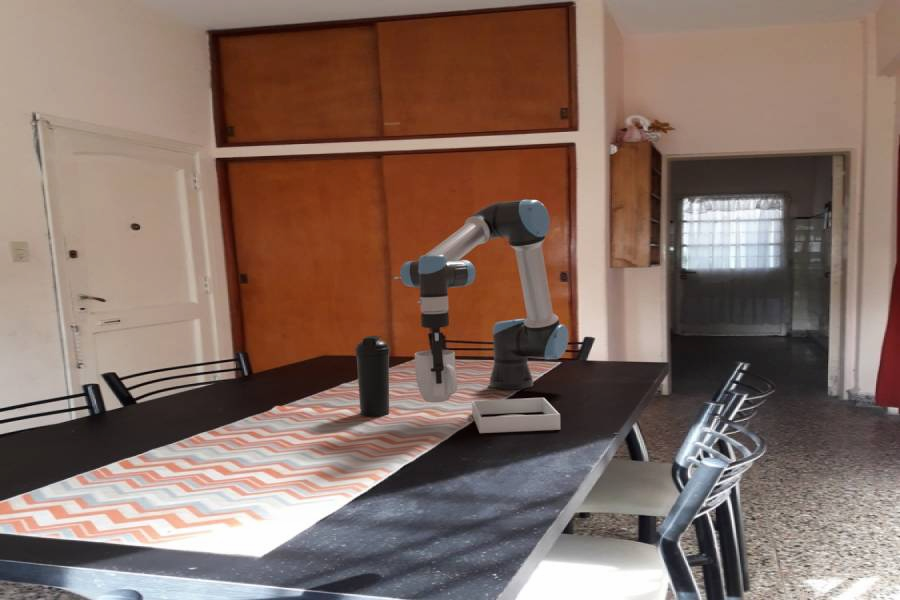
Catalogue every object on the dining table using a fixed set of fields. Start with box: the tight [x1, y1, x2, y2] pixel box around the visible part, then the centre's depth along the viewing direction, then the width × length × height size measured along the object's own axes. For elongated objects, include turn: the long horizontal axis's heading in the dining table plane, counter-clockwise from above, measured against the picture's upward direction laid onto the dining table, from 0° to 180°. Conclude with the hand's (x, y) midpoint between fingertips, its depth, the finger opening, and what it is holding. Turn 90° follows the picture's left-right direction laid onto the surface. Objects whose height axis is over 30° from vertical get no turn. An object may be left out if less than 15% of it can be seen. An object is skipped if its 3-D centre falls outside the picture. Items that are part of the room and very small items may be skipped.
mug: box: [414, 349, 458, 403], centre depth 186 cm, size 15×11×13 cm
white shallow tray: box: [471, 397, 561, 434], centre depth 189 cm, size 21×21×4 cm
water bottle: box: [354, 335, 391, 418], centre depth 203 cm, size 10×10×23 cm
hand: (438, 390), depth 187 cm, fingers closed on mug, 13 cm apart
